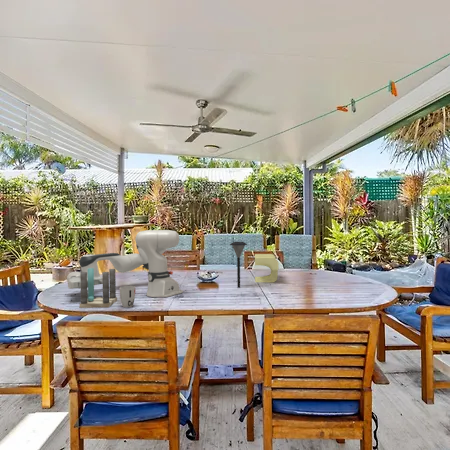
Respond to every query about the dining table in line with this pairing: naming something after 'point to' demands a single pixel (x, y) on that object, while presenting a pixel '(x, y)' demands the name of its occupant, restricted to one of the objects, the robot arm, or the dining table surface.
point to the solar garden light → (238, 257)
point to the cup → (127, 296)
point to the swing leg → (90, 284)
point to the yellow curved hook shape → (267, 261)
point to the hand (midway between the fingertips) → (93, 283)
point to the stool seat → (105, 300)
